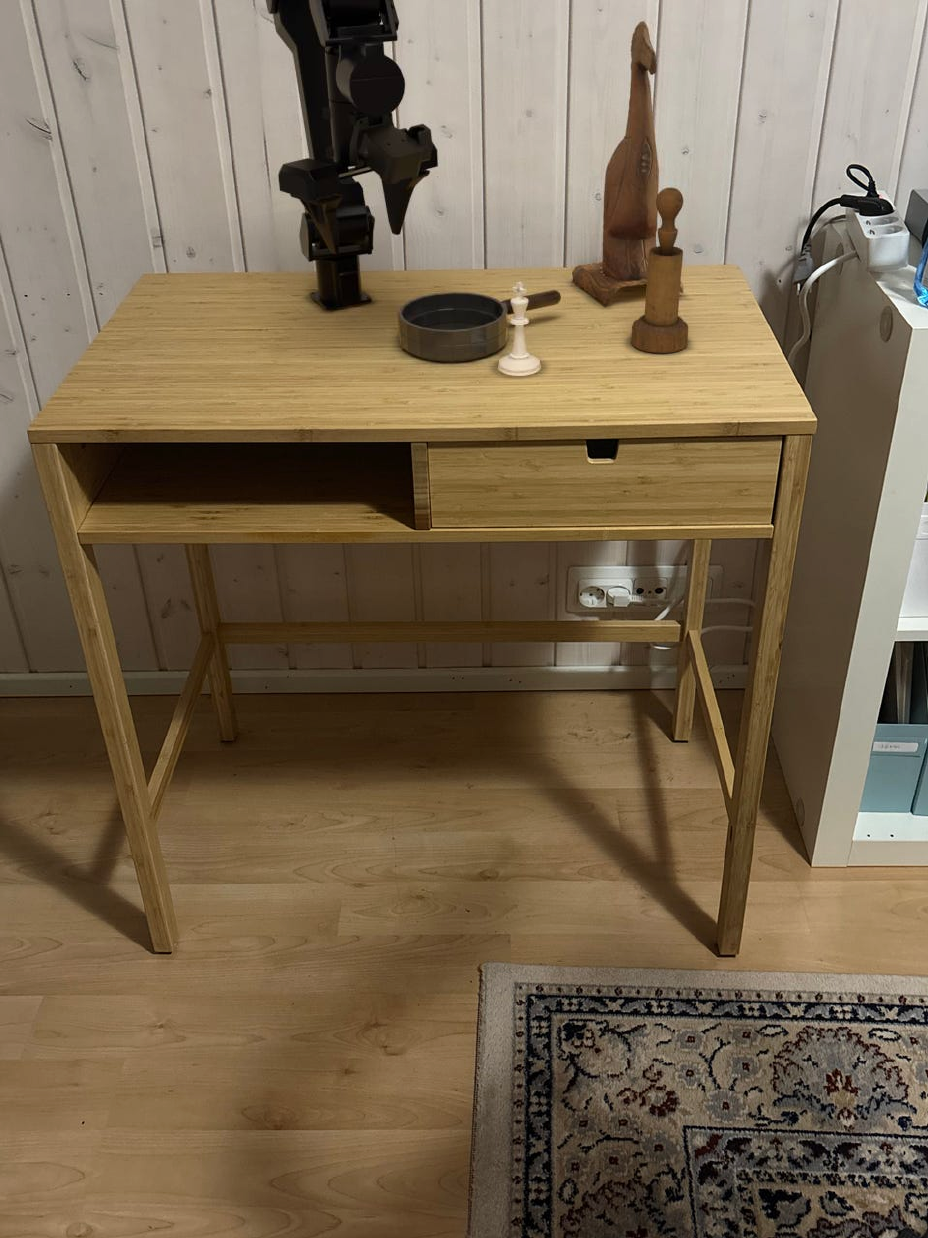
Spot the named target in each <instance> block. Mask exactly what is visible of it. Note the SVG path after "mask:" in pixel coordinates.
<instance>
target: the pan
mask: <svg viewBox="0 0 928 1238" xmlns="http://www.w3.org/2000/svg"><path fill="white" fill-rule="evenodd" d="M501 301H502V300H499V299H497V298H495V297H493V296H490V295H486V294H482V293H474V292H467V291H465V292H463V291H450V292H436V293H432V294H425V295H421V296H418V297H416V298H413V299H410V300H407V302H405V303H404V304H402V305H401V306H400V307H399V309H398V310H397V328H398V329H397V330H398V342H399V345H400V347H401V348H402V349H404V350H405V351H406V352H408V353H409V354H411V355H412V356H415V357H417V358H420V359H423V360H427V361H433V362H443V363H457V362H459V363H461V362H468V361H474V360H479V359H482V358H485V357H488V356H490V355H493V354H494V353H495V352H497V351H499V350H500V349H501V348H503V347H504V346H505V345H506V344H507V340H508V337H509V334H508V333H509V331H508V328H509V327H508V324H509V318H508V316H509V315H508V309H507V308H506V306H505V304H504V303H502V302H501ZM494 304H495V305H496V306H498V307H499V312H498V314H499V315H498V314H496V313H495V312H494ZM496 306H495V307H496Z"/></svg>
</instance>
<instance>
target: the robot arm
mask: <svg viewBox="0 0 928 1238" xmlns="http://www.w3.org/2000/svg"><path fill="white" fill-rule="evenodd" d="M265 4H266V9H267V12H268V14H269V15H272V18H273V23H274V24H273V25H274V28H275V32H276V34H277V36H278V37H279V38H280V39H281V40H282V42H283V43H284V44H285V46H286V47H287V48H288V49H289V51H290V52H291V54H292V58H293V65H294V71H295V77H296V84H297V90H298V95H299V102H300V108H301V109H300V110H301V114H302V115H301V116H302V120H303V127H304V133H305V134H304V135H305V140H306V146H307V150H308V151H307V153H308V157H307V158H302V159H298V160H293V161H290V162H286V163H283V164H282V165H281V166H280V169H279V171H278V174H277V177H278V178H277V179H278V186H279V191H280V192H283V193H285V194H288V195H290V197H291V198H294V199H297V200H299V202H300V203H301V204H302V206H303V208H304V212H302V214H301V220H300V226H299V227H300V228H299V233H298V234H299V235H298V236H299V237H298V238H299V243H300V249H301V253H302V255H303V256H304V258H305V259H306V260H307V262H308V263H311V262H312V263H313V262H315V273H316V283H317V291H316V290H315V291H312V292H309V298H310V299H312V300H314V302H316V303H317V304H318V305H319V306H320V307H322V308H323V309H324V310H326V311H333V310H338V309H343V308H348V307H353V306H359V305H362V304H368V303H371V302H372V301H373V299H372V296H371V295H369V294H367V293H366V292H365V291H363V289H362V277H361V276H362V275H361V264H360V256H362V255H373V251H374V232H375V224H376V217H375V216H374V215H373V214H372V211H371V209H370V206H369V205H367V204H366V199H365V194H364V188H363V185H362V184H361V183H360V182H359V180H355V179H354V177H357V176H361V175H364V174H368V173H372V172H374V173H375V174H377V176H379V179H380V181H381V186H382V191H383V198H384V203H385V209H386V214H387V220H388V221H387V222H388V225H389V227H390V232H391V233H392V235H395V236H399V235H401V232H402V229H403V227H404V226H403V225H404V222H405V218H406V215H407V211H408V209H409V208H408V207H409V204H410V200H411V198H412V195H413V192H414V189H415V188H416V186H417V185H418V184H419V183H420V182H421V181H422V180H423V179H425V178H426V177H429V175H430V174H431V169H434V168H437V167H439V155H438V153H439V152H438V148H437V146H436V144H435V143H434V142H433V137H432V129H431V128H429V127H428V126H427V125H426V124H424V123H420V124H416V125H412V126H409V128H406V127H403V128H397V127H396V126H395V123H394V118H393V116H394V115H393V112H394V111H395V110H396V109H397V108H398V107H400V105H401V103H402V102H403V99H404V96H405V91H406V79H405V77H404V74H403V71H402V69H401V67H400V66H399V64H398V63H396V61H395V60H394V59H392V58H391V57H389V56H388V55H386V53H385V45H384V43H389V42H398V37H399V36H398V31H399V26H400V20H399V16H398V11H397V9H396V5H395V1H394V0H265Z"/></svg>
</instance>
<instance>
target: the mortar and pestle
mask: <svg viewBox="0 0 928 1238" xmlns="http://www.w3.org/2000/svg"><path fill="white" fill-rule="evenodd" d="M683 206H684V196H683V194H682V192H681V191H680V190H679V189H678V188H675V187H665V188H663V189H661V190H660V191H659V192H658V196H657V198H656V207H657V210H658V214H659V216H660V219H661V226H660V227H659V228H657V238H658V244H659V245H657V246H656V247H653V248H651V249H650V250H649V258H648V274H647V280H646V281H647V284H646V289H645V305H644V314H643V315H641V316H640V317H639V318H637V319H636V320H635V321H634V322H633V323H632V326H631V338H630V340H631V341H630V343H631V345H632V346H633V347H634V348H636V349H638V350H639V351H643V352H647V353H659V354H671V353H676V352H680V351H682V350H684V349H685V348H686V347H687V346H688V341H689V339H688V338H689V324H688V323H687V322H686V321H685V320H684V319H683V318H682V317H680V316H679V308H680V307H679V306H680V294H681V293H680V282H682V281H681V279H682V270H683V269H682V268H683V260H684V259H683V258H684V250H683V249H682V248H680V247H678V246H675V243H676V240H677V237H678V233H679V230H678V228H677V227H676V224H675V223H676V218H677V216H678V215H679V214H680V212H681V210H682V208H683Z"/></svg>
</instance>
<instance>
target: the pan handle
mask: <svg viewBox="0 0 928 1238" xmlns="http://www.w3.org/2000/svg"><path fill="white" fill-rule="evenodd" d="M522 297H525V298H527V299H528V300H529V302H528V305H527V308H526V311H525V312H528V311H533V310H538V309H543V308H547V307H552V306H556V305H558V304H559V303H561V299H562V295H561V293H560V292H559V291H558V290H556V289H550V290H546V291H542V292H537V293H532V294H528V295H527V294H526V295H522ZM511 299H512V298H507V299H504V300H500V301H501V302H502V303H504V304H505V306H506V308H507V309H508V316H510V315H515V314H514V311H513V308H512V305H511ZM495 306H496V305H495V304H494V312H495V313H496V314H498V312H499V307H498V306H496V307H495ZM498 315H499V314H498Z"/></svg>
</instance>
